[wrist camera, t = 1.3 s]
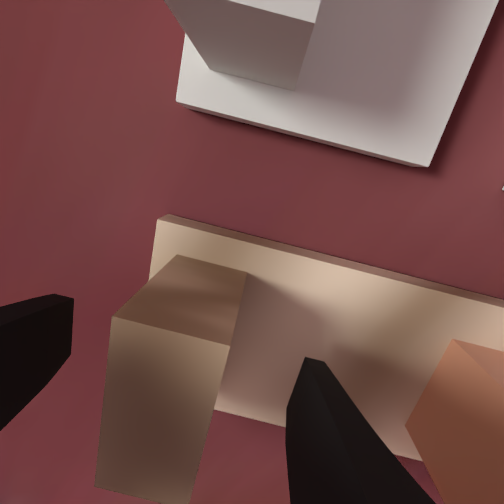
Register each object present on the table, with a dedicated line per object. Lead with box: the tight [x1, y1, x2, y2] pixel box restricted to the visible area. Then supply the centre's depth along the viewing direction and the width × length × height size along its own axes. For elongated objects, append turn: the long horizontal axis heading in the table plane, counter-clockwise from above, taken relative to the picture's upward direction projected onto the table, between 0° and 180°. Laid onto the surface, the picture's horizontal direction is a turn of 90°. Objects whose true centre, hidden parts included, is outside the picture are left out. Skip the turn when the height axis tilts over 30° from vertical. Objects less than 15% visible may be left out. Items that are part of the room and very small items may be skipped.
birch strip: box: [94, 214, 504, 504], centre depth 9 cm, size 18×7×5 cm, turn 76°
